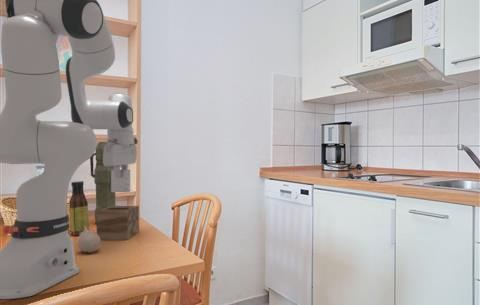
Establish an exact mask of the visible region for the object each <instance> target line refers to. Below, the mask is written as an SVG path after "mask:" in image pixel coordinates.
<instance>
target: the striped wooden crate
mask: <svg viewBox="0 0 480 305" xmlns="http://www.w3.org/2000/svg"><path fill="white" fill-rule="evenodd" d="M139 213H140V207H139V205H116V206H109V207H107V208H104V209H101V210H99V211H96V217H97V225H96V233H97V234H98V236H99V237H100V239H101V241H128V240H130V239H131V238H132V237H134V236H135V235H137V234H138V233H139V232H140V214H139Z"/></svg>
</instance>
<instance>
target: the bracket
mask: <svg viewBox="0 0 480 305" xmlns="http://www.w3.org/2000/svg"><path fill="white" fill-rule="evenodd" d="M120 171H121V173H122V177H121V178H115V172H114V170H111V192H115V193H130V192H131V169H127V170H121V169H120Z"/></svg>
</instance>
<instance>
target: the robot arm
mask: <svg viewBox="0 0 480 305" xmlns="http://www.w3.org/2000/svg"><path fill="white" fill-rule="evenodd" d="M4 1H5V2H4V3H5V8H6V9H5V10H6V11H5V12H6V13H7V16H8V18H6V19H5V20H4V22H3V23H2V25H1V33H0V34H1V35H0V54H1V63H2V69H3V75H4V83H5V84H4V85H5V103H4V106H3V108H2V110H1V112H0V163H1V164H9V165H25V164H27V165H29V164H31V165H32V164H37V165H38V164H41V165H44V168H43V171H42V173H41V174H39V175H37V176H34V177H32V178H30V179H28V180H26V181H24V182H23V183H21V185H19V186H18V189H17V191H16V194H15V195H16V196H15V198H16V219H15V220H14V223H13V225H7V224H6V225H4V226H3V228H2V233H3V234H4V235H10V236H11V237H10V239H9V241H7V243H6V244H5V245H4V246H3V247H2V249H1V250H0V300H11V299H13V300H14V299H21V298H27V297H31V296H34V295H37V294H39V293H41V292H43V291H44V290H46V289H49V288H51V287H53V286H55V285H57V284H58V283H60V282H62V281H65V280H66V279H69V278H71V277H72V276H75V275H76V274H77V275H78V274H79V273H80V272H81V271H80V266H78V265H76V256H75V255H76V254H75V247H74V240H73V238H72V237H71V236H70V235H71V234H69V231H68V230H69V228H70V215H69V214H68V192H69V185H70V182H71V179H72V178H73V175H74V174H75V173H76V171H77V170H78V168H80V167H81V166H82V165H83V164H84V163H85V162H86V161H88V160H90V157H91V156H92V155H93V153H96V146H97V143H98V142H97V138H96V134H95V132H94V130H107V132H106V133H107V137H106V138H107V141H105V142H106V145H105V146H104V151H103V164H104V166H113V169H114V172H115V178H121V177H122V173H121V171H120V170H129V169H128V168H129V165H133V164H136V162H137V155H138V153H137V152H138V150H137V149H138V147H137V145H138V138H137V137H135V135H134V129H133V122H134V109H133V103H132V98H131V97H130V96H129V95H128V94H124V93H117V92H116V93H112V94H110V95H109V96H108V100H91V99H89V98H87V97H86V89H85V81H87V80H88V79H91V78H93V77H96V76H100V75H102V74H104V73H106V72H107V71H108V70H110V68H111V67H112V66H113V64H114V62H115V60H116V51H115V45H114V41H113V37H112V33H111V30H110V27H109V24H108V22H107V19H106V17H105V15H104V13H103V9H102V7H101V5H100V3H99V1H98V0H4ZM59 36H63V37H67V38H68V42H69V44H70V47H71V56H70V57H69V58H68V59H67V61H66V65H65V77H66V84H67V91H68V96H69V102H70V114H71V115H70V116H71V117H70V118H71V121H66V120H65V121H64V120H63V121H62V120H61V121H60V120H59V121H58V120H39V119H38V118H37V116H38V115H39V114H42V113H44V112H47V111H49V110H51V109H53V108H55V107H56V106H57V105H58V104H59V103H60V102H61V100H62V97H63V93H62V80H61V71H60V69H61V68H60V62H59V60H60V59H59V55H58V54H59V53H58V48H57V46H56V45H57V41H58V38H59Z"/></svg>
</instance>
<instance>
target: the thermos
mask: <svg viewBox="0 0 480 305" xmlns="http://www.w3.org/2000/svg"><path fill="white" fill-rule="evenodd" d="M106 142H107V141H99V142H97V145H96V149H95V152H94V153H93V155H92V156H91V157H90V158H89V162H90V163H89V164H90V176H91V177H92V178H93V179H94V184H95V210H94V220H95V223H94V224H95V225H96V226H97V217H96V211H99V210H101V209H104V208H107V207H109V206H117V205H116V192H111V170H114V169H113V166H104V164H103V151H104V146H105V145H106ZM94 156H95V162H96V163H95V167H94Z"/></svg>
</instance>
